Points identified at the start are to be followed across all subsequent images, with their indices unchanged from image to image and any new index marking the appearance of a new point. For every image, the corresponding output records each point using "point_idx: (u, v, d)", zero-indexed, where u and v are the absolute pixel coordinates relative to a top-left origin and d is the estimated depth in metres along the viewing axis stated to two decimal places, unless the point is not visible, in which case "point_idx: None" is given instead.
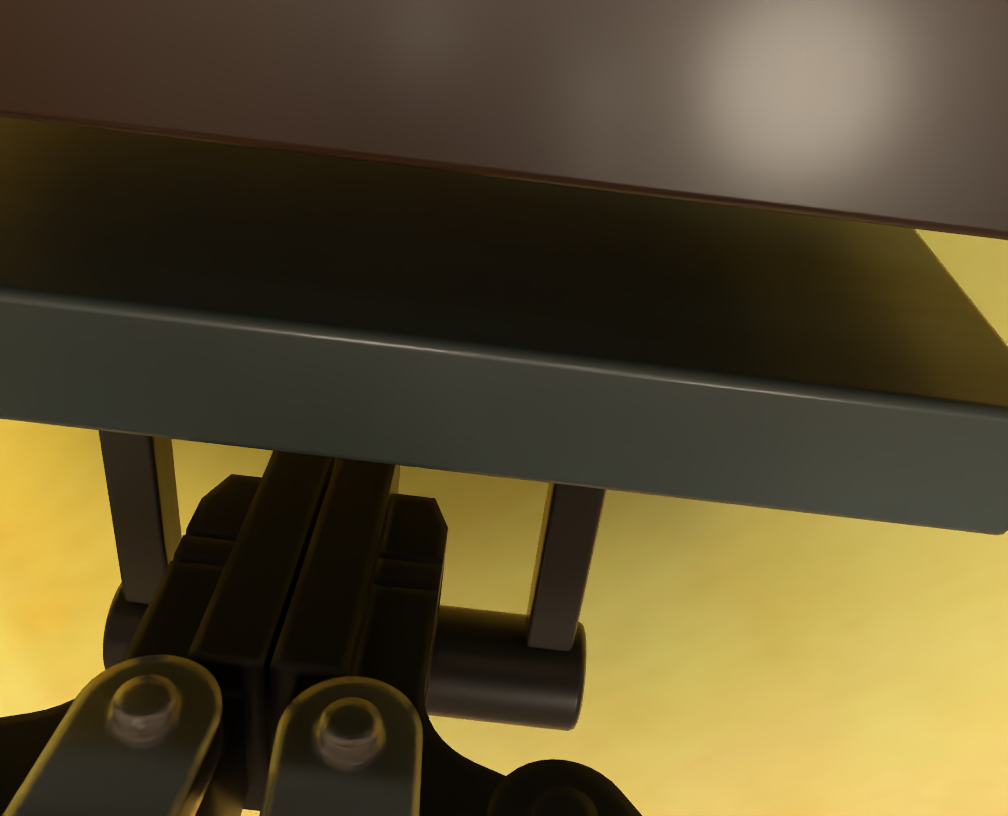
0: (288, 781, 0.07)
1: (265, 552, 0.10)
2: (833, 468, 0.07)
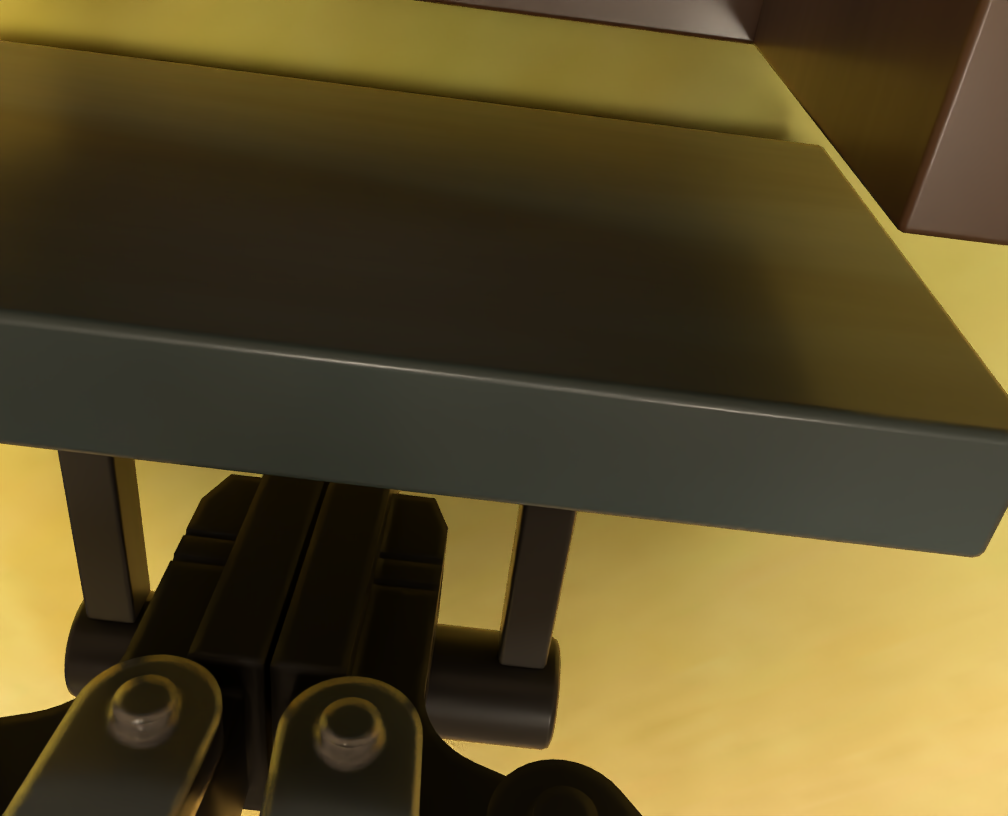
0: (288, 781, 0.07)
1: (265, 552, 0.10)
2: (803, 489, 0.07)
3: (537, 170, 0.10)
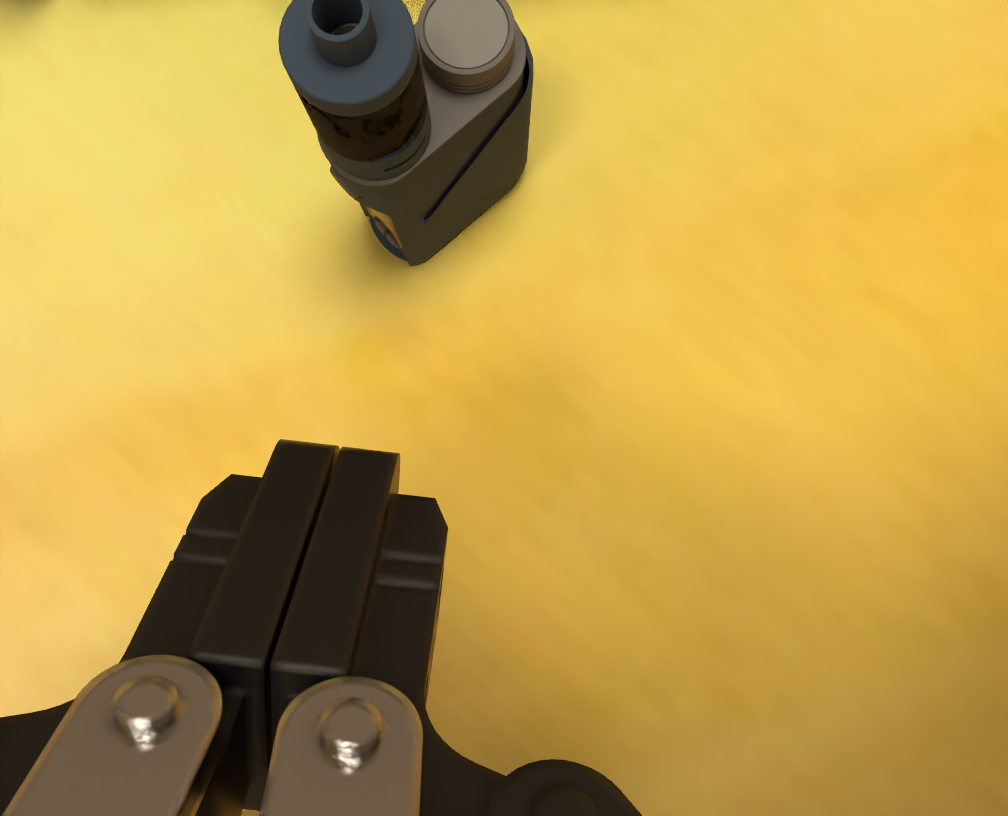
0: (288, 781, 0.07)
1: (265, 552, 0.10)
2: None
3: None
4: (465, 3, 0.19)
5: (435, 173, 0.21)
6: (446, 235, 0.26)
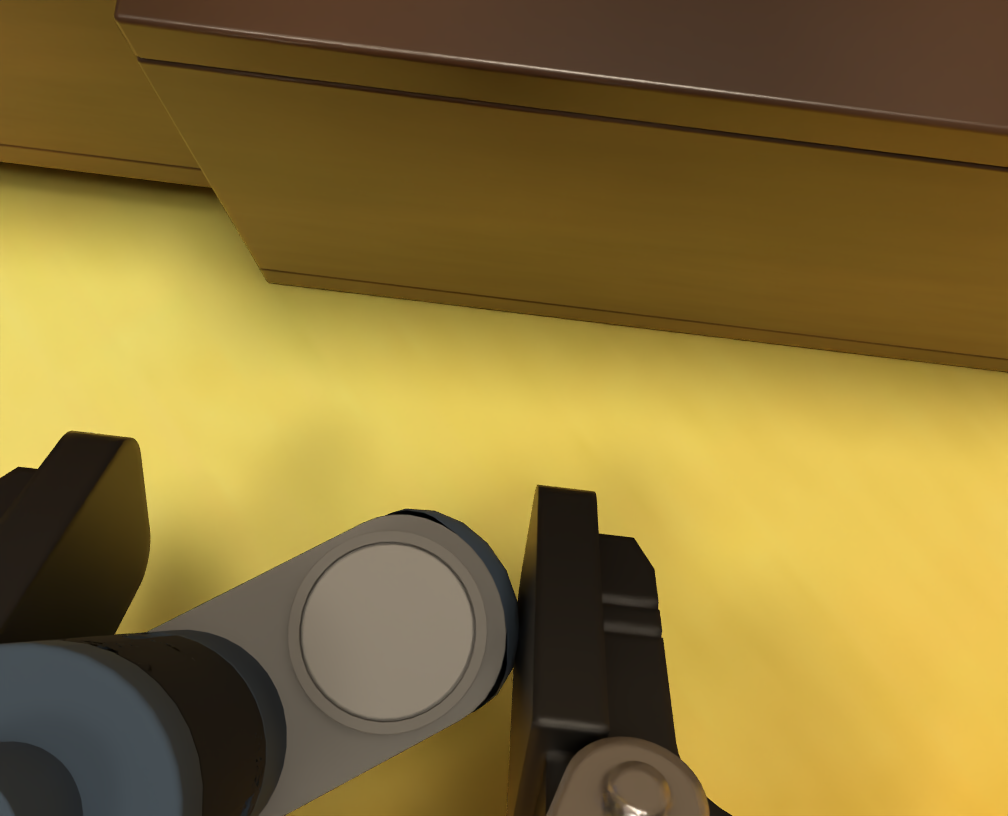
0: None
1: (17, 546, 0.09)
2: None
3: None
4: (399, 579, 0.10)
5: None
6: None
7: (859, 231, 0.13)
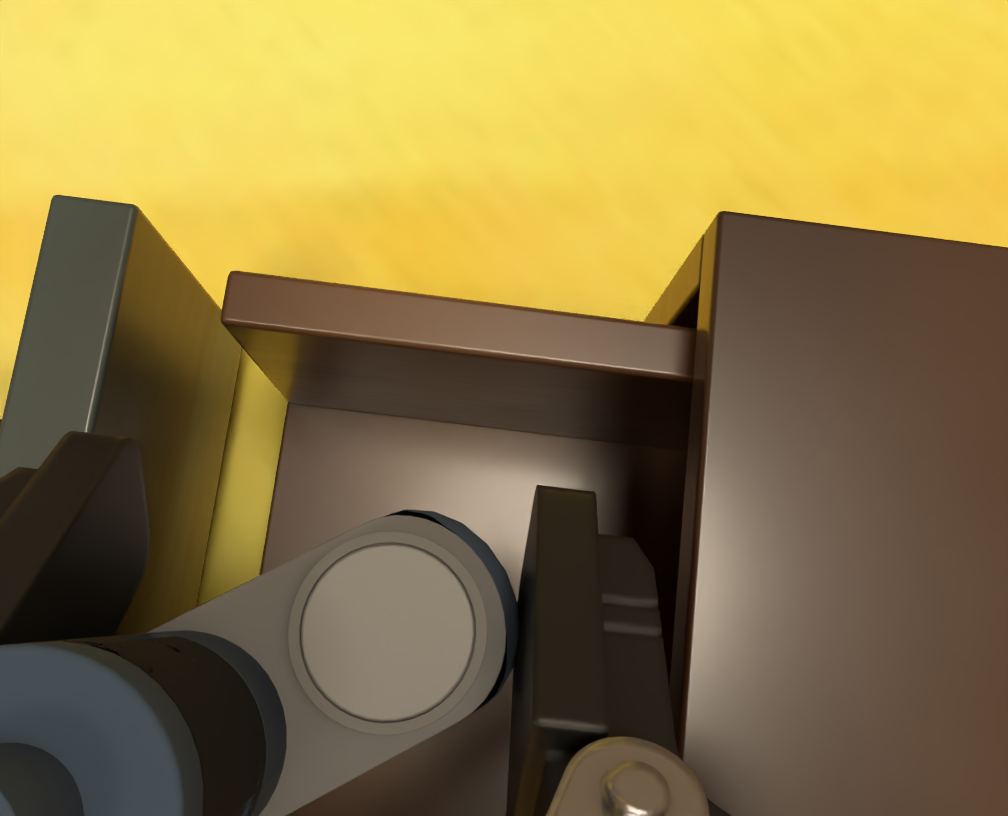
0: None
1: (17, 546, 0.09)
2: None
3: None
4: (399, 580, 0.10)
5: None
6: None
7: None
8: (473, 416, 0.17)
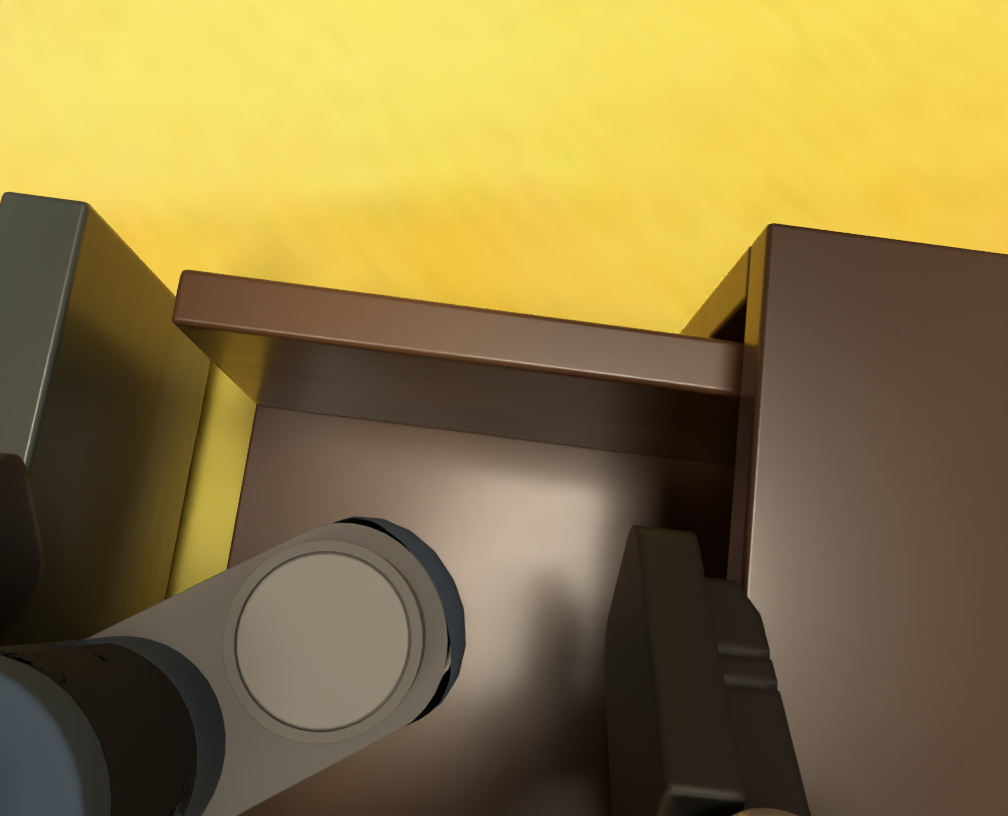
0: None
1: None
2: None
3: None
4: (335, 589, 0.10)
5: None
6: None
7: None
8: (441, 420, 0.17)
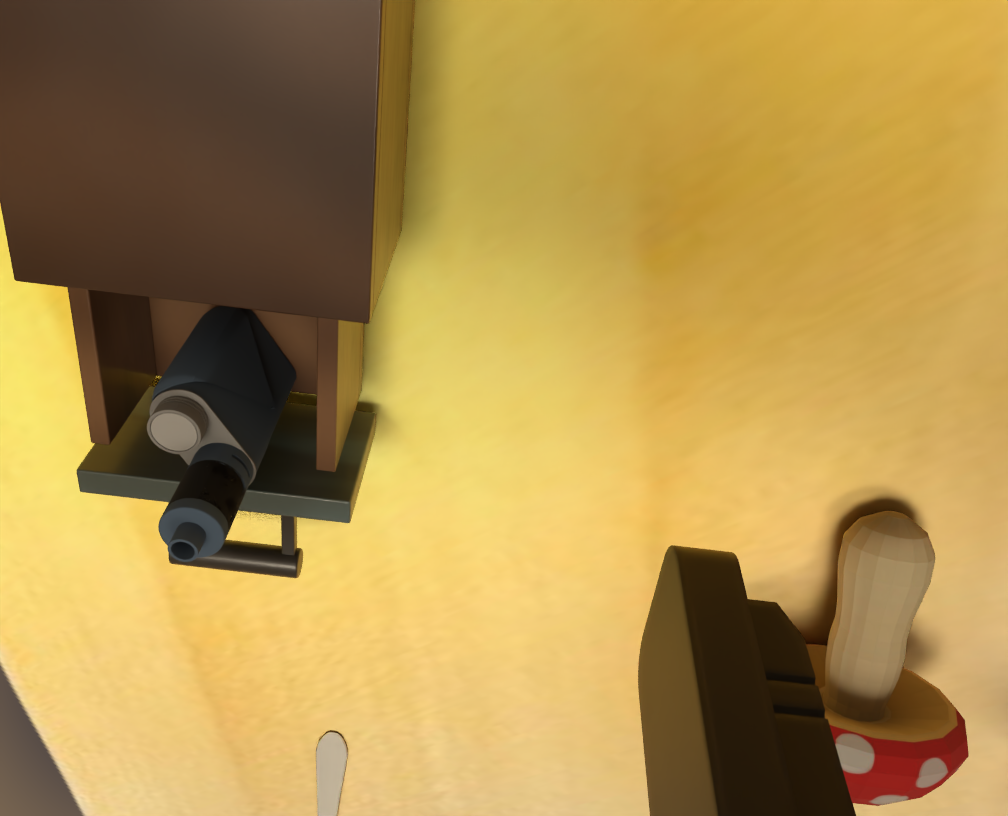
0: None
1: None
2: (312, 510, 0.40)
3: (284, 432, 0.43)
4: (160, 430, 0.35)
5: (249, 426, 0.38)
6: (280, 363, 0.42)
7: (394, 31, 0.31)
8: (141, 316, 0.41)
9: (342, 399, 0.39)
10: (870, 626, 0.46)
